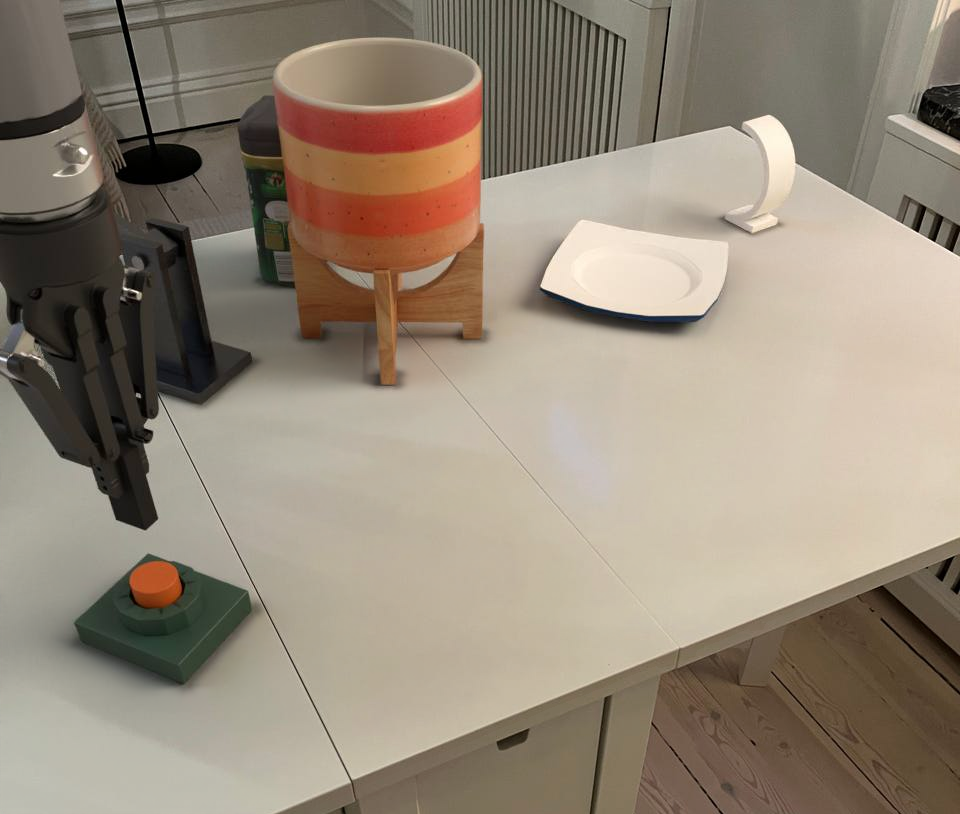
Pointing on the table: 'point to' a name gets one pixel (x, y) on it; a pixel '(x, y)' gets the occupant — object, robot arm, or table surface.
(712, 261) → the plate
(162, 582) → the button
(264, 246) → the coffee jar
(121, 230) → the lever
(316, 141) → the planter
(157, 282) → the bracket
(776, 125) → the headphone stand
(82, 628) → the control block
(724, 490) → the table surface
